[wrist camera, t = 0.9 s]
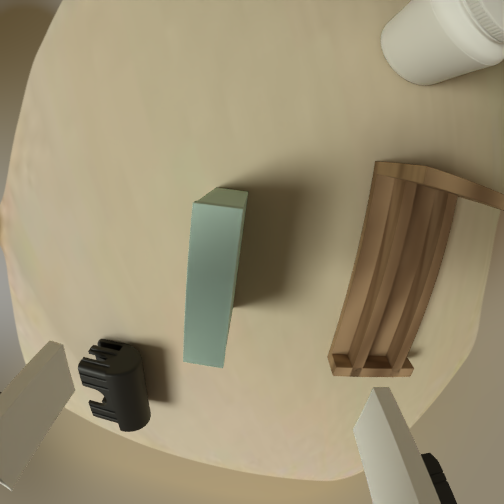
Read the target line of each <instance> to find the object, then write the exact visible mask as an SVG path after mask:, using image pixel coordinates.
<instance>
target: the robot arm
mask: <svg viewBox="0 0 504 504" xmlns="http://www.w3.org/2000/svg"><path fill="white" fill-rule="evenodd" d="M74 391H75V388H74V384H73V381H72V378H71V374H70V370H69V367H68V363H67V359H66V355H65V351H64V346H63V344H59V343H56V342H53V341H49V342H48V343H47V344H46V345H45V346H44V347H43V348H42V349H41V350H40V351H39V352H38V353H37V354H36V355H35V356H34V358H33V359H32V360H31V361H30V362H29V363H28V364H27V365H26V366H25V367H24V368H23V369H22V370H21V372H20V373H19V374H18V375H17V376H16V377H15V378H14V379H13V380H12V381H11V382H10V384H9V385H8V386H7V387H6V388H5V389H4V390H3V392H0V484H2V485H3V486H5V487H6V488H8V489H10V490H11V491H12V490H13V488H14V487H15V485H16V483H17V481H18V480H19V478H20V476H21V474H22V473H23V471H24V469H25V468H26V466H27V464H28V463H29V461H30V459H31V458H32V456H33V454H34V453H35V451H36V450H37V448H38V446H39V445H40V443H41V441H42V440H43V438H44V437H45V435H46V434H47V432H48V431H49V429H50V427H51V426H52V424H53V423H54V421H55V420H56V418H57V417H58V415H59V413H60V412H61V411H62V409H63V408H64V406H65V405H66V403H67V402H68V400H69V399H70V397H71V396H72V394H73V393H74ZM353 432H354V435H355V439H356V442H357V446H358V449H359V453H360V456H361V460H362V464H363V467H364V471H365V474H366V478H367V482H368V486H369V490H370V493H371V497H372V501H373V504H457V503H456V500H455V498H454V495H453V493H452V491H451V488H450V486H449V484H448V482H447V481H446V477H445V475H444V473H443V470H442V468H441V466H440V464H439V462H438V461H437V459H436V458H435V457H434V456H433V455H432V454H431V453H426V454H421V455H420V452H419V450H418V448H417V446H416V443H415V441H414V439H413V437H412V435H411V432H410V430H409V428H408V426H407V424H406V421H405V419H404V417H403V415H402V413H401V411H400V409H399V407H398V405H397V402H396V400H395V398H394V396H393V394H392V392H391V390H390V388H389V387H373V389H372V391H371V394H370V396H369V398H368V400H367V402H366V404H365V406H364V408H363V410H362V412H361V415H360V417H359V419H358V421H357V422H356V424H355V426H354V428H353Z"/></svg>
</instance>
